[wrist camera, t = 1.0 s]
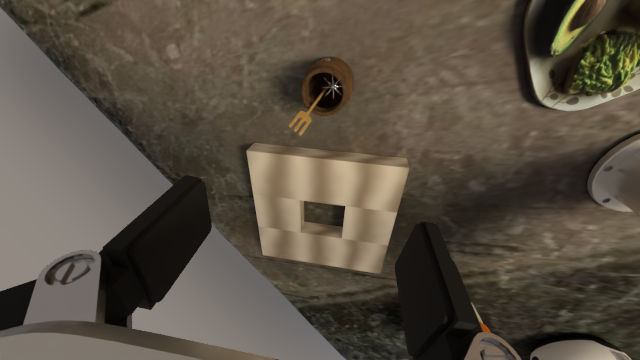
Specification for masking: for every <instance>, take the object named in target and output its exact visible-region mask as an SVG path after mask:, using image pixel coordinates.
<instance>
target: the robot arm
mask: <svg viewBox="0 0 640 360" xmlns="http://www.w3.org/2000/svg"><path fill="white" fill-rule="evenodd" d="M587 189H588V192H589V194H590V196H591V197H592V198H593V199H594V200H595V201H596V202H598V203H599V204H600V205H602V206H604V207H606V208H609V209H612V210H616V211H624V212H635V213H637V214H638V215H639V216H640V134H637V135H635V136H633V137H631V138H629V139H627V140H625V141H624V142H622V143H620V144H619V145H617V146H616V147H614V148H613V149H611V150H610V151H609V152H608V153H607V154H605V155H604V156H603V157H602V158H601V159H600V160H599V161H598V163H597V164H596V165H595V166H594V168H593V169H592V171H591V173H590V175H589V178H588V181H587ZM211 227H212V224H211V218H210V212H209V206H208V200H207V194H206V188H205V183H204V182H202V181H201V179H200V178H198V177H193V176H187V175H186V176H184V177H182V178H181V179H180V180H179V181H178V182H177V183H175V184H174V185H173V186H172V187H171V188H170V189H169V190H168V191H166V192H165V193H164V194H163V195H162V196H161V197H160V198H159V199H157V200H156V201H155V202H154V203H153V204H152V205H150V206H149V207H148V208H147V209H146V210H145V211H144V212H142V214H140V215H139V216H138V217H137V218H136V219H134V220H133V221H132V222H131V223H130V224H129V225H128V226H126V227H125V228H124V229H123V230H122V231H121V232H120V233H119V234H117V235H116V236H115V237H114V238H113V239H112V240H110V242H108V243H107V244H106V245H105V246H104V247H103V250H102V251H100V252H99V253H97V252H95V251H92V250H81V251H75V252H72V253H69V254H66V255H64V256H62V257H60V258H58V259H56V260H54V261H53V262H51V263H50V264H49V265H47V266H46V267H45V268H44V269H43V270H42V271H41V273H40V274H39V276H38V278H37V279H36V280H33V281H30V282H27V283H24V284H21V285H18V286H15V287H12V288H9V289H6V290H3V291H0V360H278V359H274V358H269V357H264V356H260V355H255V354H250V353H246V352H241V351H237V350H231V349H227V348H223V347H218V346H213V345H208V344H204V343H199V342H194V341H189V340H185V339H180V338H175V337H170V336H165V335H161V334H156V333H151V332H146V331H141V330H135V329H132V313H133V312H134V311H135V309H136V308H137V307H140V308H145V309H149V310H151V309H152V308H153V306H154V305H155V304H156V302H160V301H161V300H162V299H163V298H164V296H165V295H166V294H167V292H168V291H169V289H170V288H171V286H172V285H173V284H174V282H175V281H176V280H177V278H178V277H179V275H180V274H181V272H182V271H183V270H184V268H185V267H186V265H187V264H188V263H189V261H190V260H191V258H192V257H193V255H194V254H195V253H196V251H197V250H198V248H199V247H200V246H201V244H202V243H203V241H204V240H205V239H206V237H207V236H208V234H209V233H210V231H211ZM395 273H396V280H397V286H398V292H399V299H400V305H401V311H402V318H403V324H404V331H405V337H406V343H407V349H408V353H409V355H410V356H413V360H521V358H520V357H519V355H518V354H517V353H516V352H515V350H514V349H513V348H512V347H511V346H510V345H509V344H508V343H507V342H506V341H504V340H503V339H501V338H500V337H498V336H496V335H494V334H491V333H487V332H483V330H482V327H481V325H480V323H479V320H478V318H477V315H476V313H475V311H474V308H473V306H472V303H471V301H470V298H469V296H468V294H467V291H466V289H465V286H464V284H463V281H462V279H461V277H460V274H459V272H458V269H457V267H456V265H455V263H454V261H453V260H452V259H451V257H450V255H449V252H448V250H447V247H446V245H445V242H444V240H443V237H442V235H441V232H440V230H439V227H438V226H437V225H436V224H433V223H427V222H421V223H420V224H416V225H415V227H414V229H413V231H412V233H411V235H410V237H409V239H408V240H407V242H406V244H405V246H404V248H403V250H402V252H401V254H400V256H399V258H398V260H397V261H396V264H395Z"/></svg>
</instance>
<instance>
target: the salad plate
mask: <svg viewBox="0 0 640 360" xmlns="http://www.w3.org/2000/svg"><path fill="white" fill-rule="evenodd" d="M602 31H607V32H608V33H606V34H604V35H601V34H600V32H602ZM522 50H523V55H524V64H525V72H526V79H527V85H528V87H529V90H530V93H531V96H532V98H533V100H534V101H535V102H536V103H538V104H540V105H541V106H544V107H548V108H551V109H555V110H560V111H577V110H582V109H586V108H590V107H593V106H595V105H598V104H601V103H604V102H606V101H609V100H611V99H614V98H617V97H619V96H622V95H625V94H627V93H631V92H633V91H635V90H638V89H640V57H639V53H640V0H529V2H528V4H527V7H526V11H525V15H524V20H523V30H522ZM552 69H554V70H555V72H554V71H553V70H552Z"/></svg>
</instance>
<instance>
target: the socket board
mask: <svg viewBox="0 0 640 360" xmlns="http://www.w3.org/2000/svg"><path fill="white" fill-rule="evenodd" d="M246 152H247V158H248V164H249V171H250V177H251V183H252V190H253V196H254V202H255V209H256V215H257V222H258V228H259V234H260V241H261V247H262V253H263V255H266V256H272V257H278V258H285V259H291V260H297V261H303V262H309V263H316V264H322V265H328V266H334V267H340V268H346V269H353V270H359V271H365V272H371V273H377V274H380V272H381V269H382V265H383V262H384V258H385V254H386V251H387V247H388V244H389V240H390V236H391V233H392V229H393V226H394V222H395V219H396V215H397V211H398V208H399V204H400V201H401V197H402V193H403V190H404V186H405V183H406V179H407V175H408V172H409V165H408V161H407V158H400V157H390V156H380V155H370V154H360V153H350V152H340V151H331V150H321V149H311V148H301V147H291V146H281V145H271V144H262V143H253V144H252V146H251V147H250V148H249V149H248V150H247V151H246ZM304 201H310V202H318V203H326V204H334V205H341V206H345V214H344V223H343V227H340V226H333V225H326V224H319V223H312V222H305V221H304Z"/></svg>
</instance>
